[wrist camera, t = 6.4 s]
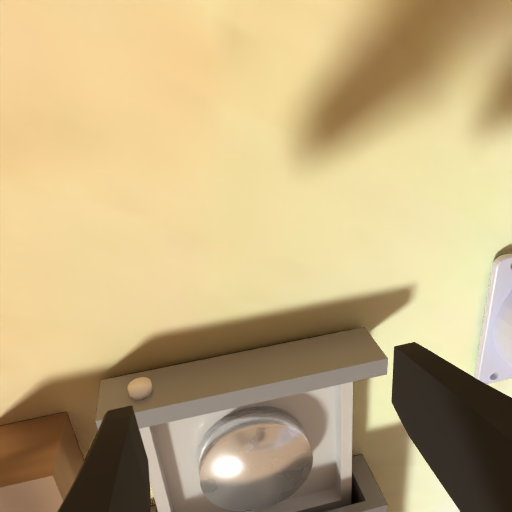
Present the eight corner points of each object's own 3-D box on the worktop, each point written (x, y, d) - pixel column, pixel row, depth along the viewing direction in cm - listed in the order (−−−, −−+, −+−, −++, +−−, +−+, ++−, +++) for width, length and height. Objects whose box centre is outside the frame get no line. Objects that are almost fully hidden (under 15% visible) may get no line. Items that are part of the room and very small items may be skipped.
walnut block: (66, 412, 21) (52, 475, 18) (85, 464, 23) (75, 530, 20) (-14, 428, 21) (-42, 497, 18) (11, 481, 22) (-11, 552, 19)
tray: (364, 321, 22) (388, 351, 20) (360, 476, 27) (379, 515, 25) (98, 374, 20) (92, 414, 18) (146, 531, 25) (146, 577, 23)
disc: (302, 395, 23) (311, 416, 21) (306, 472, 25) (314, 495, 24) (189, 420, 22) (191, 443, 21) (205, 498, 24) (208, 522, 23)
